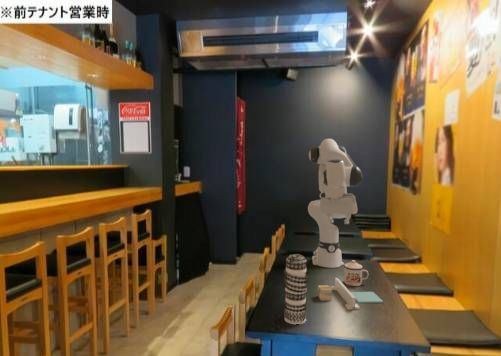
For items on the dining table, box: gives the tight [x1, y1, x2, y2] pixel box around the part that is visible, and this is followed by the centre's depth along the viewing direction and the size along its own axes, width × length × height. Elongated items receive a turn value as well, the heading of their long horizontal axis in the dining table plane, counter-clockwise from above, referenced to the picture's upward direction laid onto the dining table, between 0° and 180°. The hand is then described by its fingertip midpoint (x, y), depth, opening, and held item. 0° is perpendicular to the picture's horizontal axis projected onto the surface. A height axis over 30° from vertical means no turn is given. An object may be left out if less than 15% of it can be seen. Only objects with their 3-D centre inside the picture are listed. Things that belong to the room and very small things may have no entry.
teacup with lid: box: [343, 259, 370, 287], centre depth 170 cm, size 12×9×12 cm
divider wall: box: [330, 277, 361, 311], centre depth 151 cm, size 24×5×5 cm, turn 3°
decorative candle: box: [283, 253, 309, 325], centre depth 130 cm, size 9×9×25 cm
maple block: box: [317, 284, 333, 302], centre depth 151 cm, size 5×5×5 cm
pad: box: [350, 291, 384, 304], centre depth 152 cm, size 11×11×1 cm
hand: (338, 223), depth 156 cm, fingers open, 8 cm apart
